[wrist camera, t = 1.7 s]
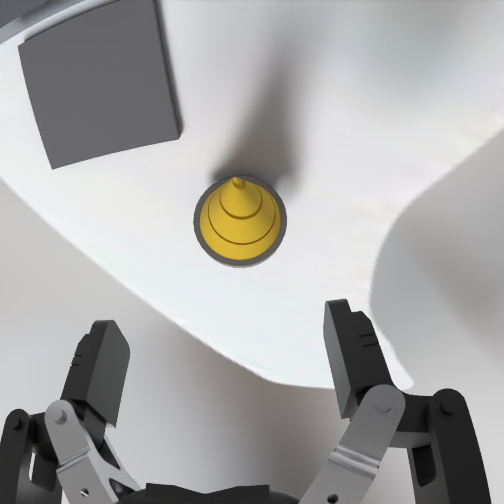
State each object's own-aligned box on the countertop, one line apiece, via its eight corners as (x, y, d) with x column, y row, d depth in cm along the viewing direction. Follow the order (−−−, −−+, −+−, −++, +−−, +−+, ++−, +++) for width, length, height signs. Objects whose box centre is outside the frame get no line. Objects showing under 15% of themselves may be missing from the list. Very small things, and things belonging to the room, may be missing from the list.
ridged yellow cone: (187, 226, 22) (143, 170, 12) (249, 181, 23) (248, 100, 13) (233, 288, 22) (219, 276, 12) (296, 240, 22) (331, 192, 12)
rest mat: (153, -8, 12) (151, -9, 12) (180, 136, 18) (178, 139, 17) (22, 45, 13) (17, 46, 12) (56, 165, 18) (52, 169, 18)
